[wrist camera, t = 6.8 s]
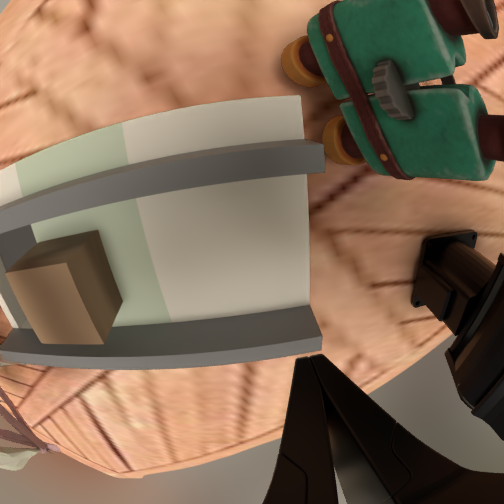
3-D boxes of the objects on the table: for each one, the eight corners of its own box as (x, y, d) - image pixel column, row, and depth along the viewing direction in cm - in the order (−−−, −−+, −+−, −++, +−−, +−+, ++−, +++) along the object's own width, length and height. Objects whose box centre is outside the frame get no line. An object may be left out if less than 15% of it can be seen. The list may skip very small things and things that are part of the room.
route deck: (291, 98, 14) (319, 89, 9) (302, 324, 21) (319, 373, 17) (-26, 187, 13) (-66, 208, 9) (39, 343, 20) (19, 378, 16)
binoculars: (551, 138, 7) (529, 243, 5) (417, 129, 16) (325, 195, 14) (498, -22, 3) (426, -81, 1) (366, 16, 12) (244, 41, 10)
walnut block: (98, 229, 14) (66, 262, 11) (123, 301, 17) (104, 344, 13) (38, 242, 14) (4, 273, 11) (65, 306, 16) (41, 343, 13)
